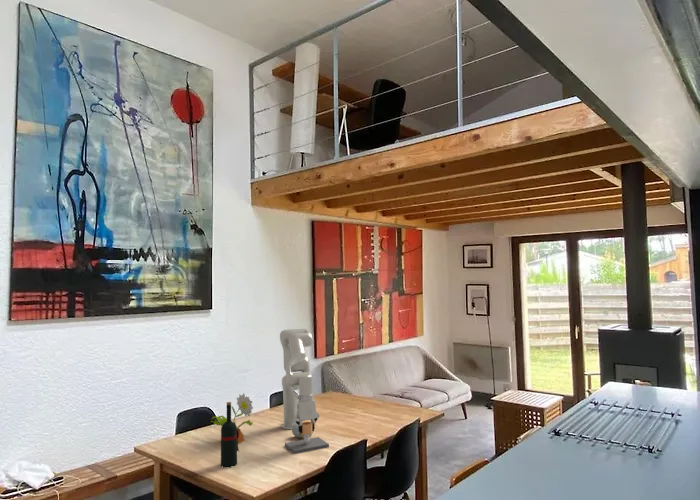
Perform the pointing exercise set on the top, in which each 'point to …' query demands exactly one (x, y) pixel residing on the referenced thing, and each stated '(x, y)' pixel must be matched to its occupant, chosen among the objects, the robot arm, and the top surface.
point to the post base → (306, 444)
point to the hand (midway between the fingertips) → (306, 431)
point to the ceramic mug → (297, 432)
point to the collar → (307, 427)
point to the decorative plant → (245, 408)
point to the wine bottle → (229, 441)
